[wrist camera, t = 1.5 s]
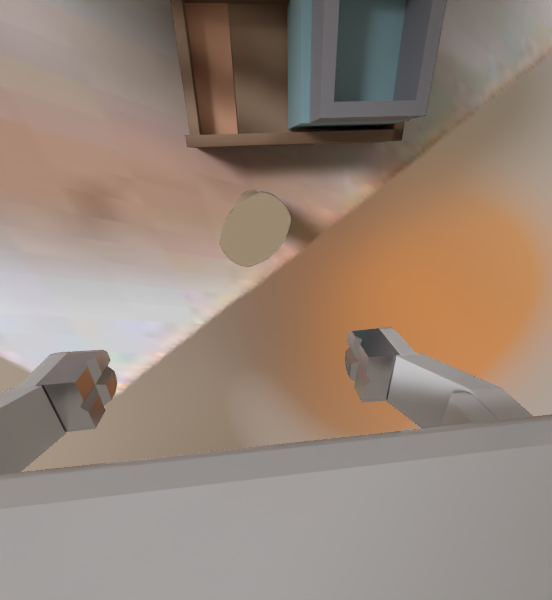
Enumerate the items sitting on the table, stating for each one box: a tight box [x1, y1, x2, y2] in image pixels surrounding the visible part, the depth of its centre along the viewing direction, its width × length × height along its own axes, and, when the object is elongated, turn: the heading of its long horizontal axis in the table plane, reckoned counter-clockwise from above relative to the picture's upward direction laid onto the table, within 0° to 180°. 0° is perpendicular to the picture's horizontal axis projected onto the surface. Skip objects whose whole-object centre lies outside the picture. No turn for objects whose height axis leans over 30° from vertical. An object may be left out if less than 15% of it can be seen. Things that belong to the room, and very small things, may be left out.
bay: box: [170, 0, 404, 148], centre depth 28 cm, size 13×22×6 cm, turn 92°
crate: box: [287, 0, 447, 130], centre depth 25 cm, size 10×10×12 cm
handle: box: [219, 190, 291, 267], centre depth 30 cm, size 5×6×15 cm
